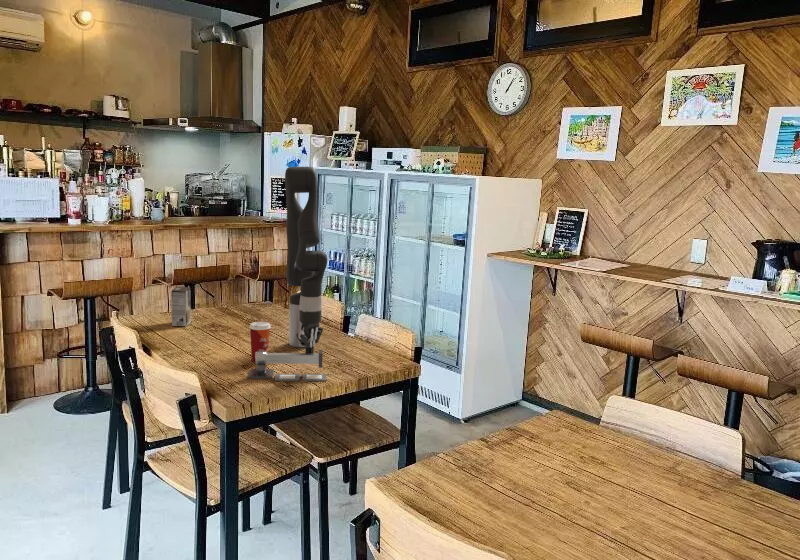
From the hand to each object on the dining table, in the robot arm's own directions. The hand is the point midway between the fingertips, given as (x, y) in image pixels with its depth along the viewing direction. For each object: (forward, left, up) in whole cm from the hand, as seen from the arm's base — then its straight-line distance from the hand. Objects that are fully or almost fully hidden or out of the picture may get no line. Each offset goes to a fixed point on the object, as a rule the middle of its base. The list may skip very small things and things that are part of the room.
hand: (309, 356), depth 212 cm
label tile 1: (+6, -7, -6) cm, 11 cm away
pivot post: (+3, -16, -6) cm, 17 cm away
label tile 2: (+6, +2, -6) cm, 9 cm away
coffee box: (-65, -57, -6) cm, 87 cm away
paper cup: (-13, -18, -6) cm, 23 cm away
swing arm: (+3, -7, -2) cm, 8 cm away
